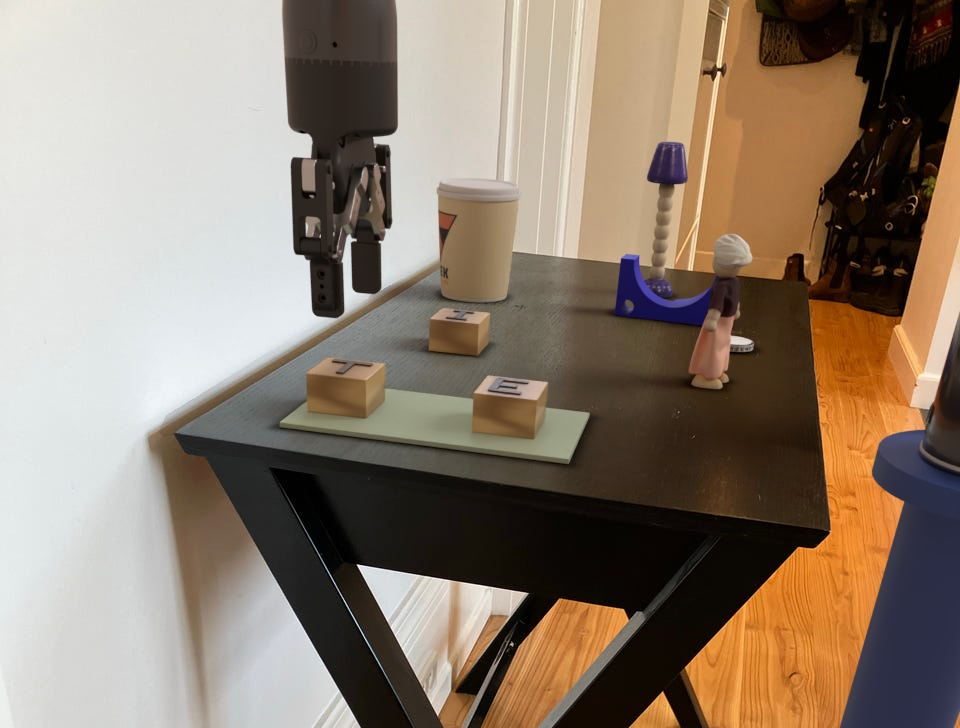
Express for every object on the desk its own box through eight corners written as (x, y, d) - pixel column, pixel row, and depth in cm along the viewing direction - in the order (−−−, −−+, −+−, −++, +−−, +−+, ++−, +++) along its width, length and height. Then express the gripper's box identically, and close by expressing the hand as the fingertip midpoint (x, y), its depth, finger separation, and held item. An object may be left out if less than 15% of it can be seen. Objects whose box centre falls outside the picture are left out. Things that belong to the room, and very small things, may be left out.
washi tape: (753, 353, 100) (754, 347, 100) (712, 349, 101) (714, 343, 100) (752, 343, 104) (753, 337, 103) (713, 339, 104) (714, 333, 104)
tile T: (385, 400, 81) (385, 361, 79) (366, 418, 77) (365, 378, 75) (329, 393, 82) (328, 355, 80) (307, 411, 78) (305, 371, 76)
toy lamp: (663, 300, 120) (684, 145, 111) (627, 294, 122) (645, 141, 113) (677, 294, 123) (698, 143, 115) (642, 288, 125) (660, 139, 117)
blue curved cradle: (727, 319, 113) (736, 263, 110) (722, 327, 109) (732, 270, 106) (622, 306, 116) (628, 251, 113) (614, 314, 112) (620, 258, 109)
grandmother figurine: (692, 369, 94) (715, 225, 88) (733, 375, 93) (759, 230, 87) (681, 392, 88) (704, 239, 82) (725, 398, 87) (752, 243, 81)
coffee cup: (437, 284, 121) (440, 175, 115) (514, 288, 121) (521, 180, 115) (430, 301, 113) (433, 185, 107) (513, 306, 113) (521, 191, 107)
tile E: (545, 419, 79) (548, 380, 77) (534, 439, 75) (537, 398, 73) (485, 412, 79) (487, 373, 78) (471, 431, 75) (473, 391, 74)
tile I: (488, 343, 99) (490, 311, 97) (477, 356, 95) (479, 322, 93) (441, 338, 100) (442, 306, 98) (428, 350, 96) (429, 317, 94)
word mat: (589, 417, 81) (589, 412, 81) (568, 464, 72) (568, 459, 71) (330, 386, 85) (330, 381, 84) (279, 427, 75) (279, 422, 75)
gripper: (359, 57, 60) (365, 331, 69) (424, 55, 72) (423, 289, 81) (243, 51, 62) (263, 321, 70) (325, 51, 74) (334, 281, 82)
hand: (348, 303), depth 75 cm, fingers open, 8 cm apart
